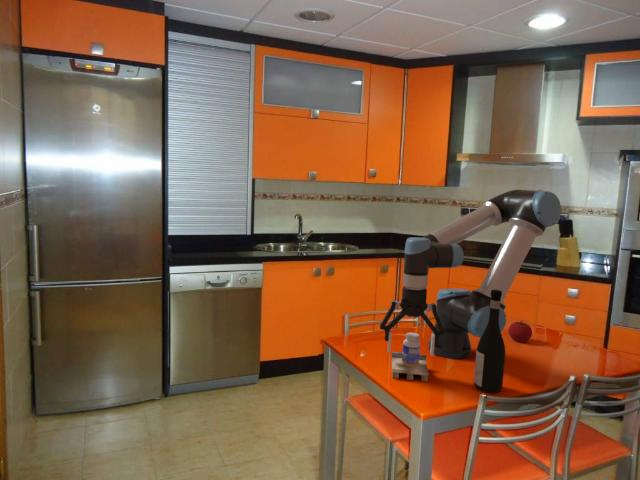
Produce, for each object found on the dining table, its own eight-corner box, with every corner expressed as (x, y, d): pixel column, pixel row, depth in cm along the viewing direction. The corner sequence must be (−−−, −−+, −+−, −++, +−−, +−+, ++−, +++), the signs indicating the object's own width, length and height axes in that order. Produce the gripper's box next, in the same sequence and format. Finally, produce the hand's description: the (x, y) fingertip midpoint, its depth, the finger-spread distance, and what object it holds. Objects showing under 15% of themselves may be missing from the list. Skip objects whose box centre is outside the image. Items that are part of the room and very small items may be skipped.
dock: (424, 367, 153) (425, 354, 153) (428, 381, 143) (429, 367, 142) (391, 364, 155) (392, 351, 154) (391, 378, 144) (392, 364, 143)
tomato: (532, 340, 188) (534, 320, 187) (529, 345, 180) (531, 325, 179) (509, 335, 192) (511, 316, 191) (505, 341, 185) (507, 321, 184)
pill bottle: (399, 360, 151) (401, 331, 150) (416, 360, 151) (418, 331, 150) (404, 367, 145) (406, 337, 144) (421, 367, 146) (423, 337, 145)
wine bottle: (472, 390, 138) (481, 291, 134) (474, 380, 145) (482, 286, 141) (502, 396, 135) (511, 294, 131) (501, 385, 142) (510, 289, 139)
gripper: (453, 287, 147) (448, 352, 150) (375, 281, 151) (371, 345, 153) (457, 292, 140) (452, 360, 143) (374, 286, 143) (370, 353, 146)
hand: (410, 352), depth 148 cm, fingers open, 13 cm apart
